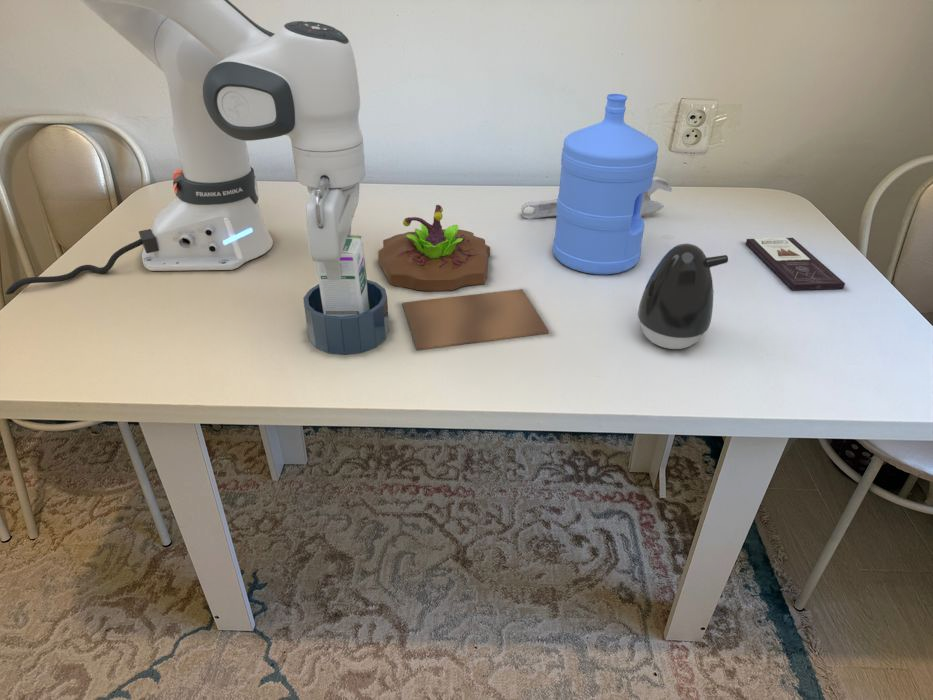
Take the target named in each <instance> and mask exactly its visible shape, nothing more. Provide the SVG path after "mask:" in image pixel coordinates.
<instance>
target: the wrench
mask: <svg viewBox="0 0 933 700" xmlns="http://www.w3.org/2000/svg"><path fill="white" fill-rule="evenodd" d="M657 190H662V191H666V192H669V193H672V191H673V188H672V186H671V184H670V183H669V182H668V180H666V179H665V178H662V177H660V176H653V181H652V186H651V188H650V189H649V190H647V191H646V192H644V194H643V200H642V206H641V212H640V215H641V217H642V216H643V215H648V214H653V213H656V212H658V211H660V210H663V208H664V207H665V204H664V203H662V202H659V201H658V200H657V201H656V200H652V199H651V196H652V195H653V194H654V193H655V192H656V191H657ZM557 199H558V198H555V199H547V200H545V199H544V200H538V201H537V200H536V201H528V202H524V203H523V204H522V205H521V208H520V211H521V216H522V217H523V218H524V219H527V220H532V219H537V218H538V219H540V218H547V217H555V216H557ZM527 207H530V208H533V212H532V213H530V214H528V213H525V212H524V211H525V209H526V208H527Z"/></svg>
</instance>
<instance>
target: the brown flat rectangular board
mask: <svg viewBox="0 0 933 700" xmlns="http://www.w3.org/2000/svg"><path fill="white" fill-rule="evenodd" d="M401 306H402V308H403V312H404V314H405V317H406V321H407V324H408V326H409V330H410V333H411V335H412V339H413V342H414V346H415V348H416V351H421V350H429V349H436V348H445V347H452V346H453V347H454V346H460V345H469V344H476V343H483V342H491V341H498V340H500V341H501V340H506V339H514V338H515V339H516V338H521V337H522V338H523V337H530V336H537V335H538V336H539V335H547V334H550V333H549V328H548V327H547V325H546V324H545V323H544V321H543V319H542V317H541V316H540V315H539V313H538V311H537V310H536V308H535V307H534V305H533V303H532V302H531V301H530V299H529V297H528V296H527V295H526V292H525V291H524V289H522V288H520V289H510V290H502V291H494V292H493V291H492V292H485V293H476V294H466V295H457V296H448V297H440V298H431V299H423V300H413V301H406V302H405V301H404V302H402V305H401Z"/></svg>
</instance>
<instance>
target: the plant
mask: <svg viewBox="0 0 933 700" xmlns="http://www.w3.org/2000/svg"><path fill="white" fill-rule="evenodd" d="M443 211H444V209H443V206H441V204H436V205H435V208H434V212H433V221H432V224H431V223H429V222H428V221H426V219H425V220H424V219H423V218H421V217H417V216H410V217H405V218H404V219H403V221H402V225H403V226H405V227H409V226H410V225H411V223H412V222H414V221H415V222H419V223H420V229H419V228H414V231H407V232H404V233H399V234H395V235H393V236H390V237H388V238H385V239H383V240H382V248H380V249H379V250H378V252H377V261H378V264H379V266H380V268H381V269H382V271H383V273H384V274H385V277H386V278H387V280H388V282H389V285H391V286H394V287H403V288H409V289H412V290H415V291H422V292H446V291H450V292H451V291H455V290H457V289H460V288H462V287H468V286H477V285H485V283H486V281H487V280H488V267H489V258H490V256H491V246H489V245H487V244H486V239H484V238H482V237H479V236H476V235H474V232H472V231H468V230H464V229H459V225H458V224H453V225H451V226H449V227H447V228H445V229H444V228H443V225H442V224H441V220H442V219H443Z"/></svg>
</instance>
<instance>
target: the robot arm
mask: <svg viewBox="0 0 933 700" xmlns="http://www.w3.org/2000/svg"><path fill="white" fill-rule="evenodd" d="M80 2H82V3H83V4H84V5H85V6H86V7H88V8H89V10H90V11H92V12H93V13H95V14H96V16H98V17H99V18H100V19H101V20H102V21H104V22H105V24H107V25H109V26H110V27H111V28H112V29H113V30H114V31H115V32H116V33H118V34H119V35H120V36H121V37H122V38H124V39H125V40H126V41H127V42H128V43H130V44H131V45H132V46H133V47H134V48H135V49H136V50H138V52H140V53H141V54H142V55H143V56H145V57H146V58H147V59H148V60H149V61H150V62H151V63H152V64H153V65H155V66H156V67H157V68H158V69H159V70H160V71H161V72H163V73H164V74H163V75H164V76H165V78H166V82H167V86H168V87H167V88H168V92H169V99H170V107H171V114H172V133H173V136H174V139H175V140H174V141H175V143H176V148H177V153H178V157H179V161H180V165H181V169H179V168H177V169H175V170H174V172H173V174H172V180H173V181H172V185H173V187H172V188H173V191H174V194H175V197H174V199H172V200H171V201H170V202H169V203H168V204H167V205H166V206H164V208H162V209H161V210H160V211H159V212H158V213H157V214H156V216H155V218H154V220H153V222H152V226H151V228H148V229H142V230H138V235H139V239H137V240H135V241H133V242H131V243H129V244H126V245H124V246H122V247H121V248H119V249H118V250H116V251H115V252H113V254H112V255H111V256H110V258H109V259H108V261H107V263H106V264H105V265H104V266H102V267H101V266H100V267H99V266H96V265H93V264H83V265H80V266H78V267H76V268H74V269H73V270H72V271H70V272H68V273H65V274H61V275H54V276H30V277H26V278H21V279H19V280H16V281H15V282H14V283H13V284H11V285H10V286H9V287H8V289H7V290H6V291H5V295H12V294H14V293H15V292H16V291H17V290H18V289H20V288H21V287H23V286H26V285H30V284H45V283H47V284H48V283H61V282H66V281H69V280H71V279H73V278H75V277H77V276H78V275H79V274H81V273H83V272H86V271H91V272H94V273H97V274H105V273H108V272H109V271H111V270H112V268H113V267H114V265H115V263H116V262H117V260H118V259H119V258H120V257H121V256H123V255H124V254H126V253H127V252H131V250H134V249H136V248H138V247H140V246H142V247H143V249H142V253H141V260H142V264H143V267H144V268H145V269H146V270H148V271H151V272H154V271H155V272H158V271H159V272H161V271H166V272H167V271H232V270H236V269H237V268H240V267H241V266H243V265H244V264H246V263H247V262H249V261H252V260H254V259H257V258H259V257H261V256H263V255H264V254H266V253H267V252H268V251H270V250H271V248H272V247H273V245H274V239H273V238H272V235H271V234H270V232H269V230H268V227H267V224H266V222H265V220H264V219H265V218H264V217H263V213H262V211H261V207H260V203H259V200H260V199H259V197H260V196H259V195H260V194H259V188H258V182H257V176H256V174H255V170H254V168H253V167H252V166H251V161H250V156H249V155H250V154H249V150H248V144H247V142H251V141H260V140H268V139H273V138H278V137H282V136H287V137H288V138H290V142H291V150H292V157H293V158H292V159H293V164H294V165H293V166H294V173H295V178H296V181H297V182H298V183H299V184H300V185H302V186H305V187H307V192H308V193H309V194H310V195H309V197H308V199H307V202H306V205H305V206H306V207H305V219H306V221H305V222H306V232H307V245H308V253H309V257H310V258H311V260H312V261H313V262H315V263H316V262H323V263H324V266H325V268H326V272H327V278H328V279H329V280H340V278H341V275H342V266H341V264H340V257H341V254H342V251H343V248H344V245H345V242H346V239H347V235H352V224H353V219H354V217H355V213H356V211H357V208H358V205H359V200H360V182H362V181H363V180H364V179H365V178H366V162H365V149H364V147H365V146H364V136H363V133H362V129H361V127H360V123H359V113H360V109H361V96H360V95H361V93H360V86H359V84H360V83H359V76H358V70H357V64H356V59H355V58H356V57H355V55H354V51H353V47H352V44H351V41H350V40H349V38H348V37H347V36H346V35H345V34H344V33H343V32H342V31H341V30H339V29H337V28H336V27H334V26H332V25H328V24H325V23H321V22H315V21H304V20H293V21H290V22H286V23H285V24H283V26H282V27H281V28H280V29H279V30H278V31H277V32H276V33H274V32H272V31H269V30H267V29H266V28H264V27H262V26H260V25H259V24H258V23H256V22H255V21H253V20H252V19H251V18H249V16H247V15H246V14H245V13H244V12H243V11H242V10H240V9H239V8H238V7H237V6H236V5H235V4H233V3H232V2H231V1H230V0H80Z"/></svg>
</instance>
